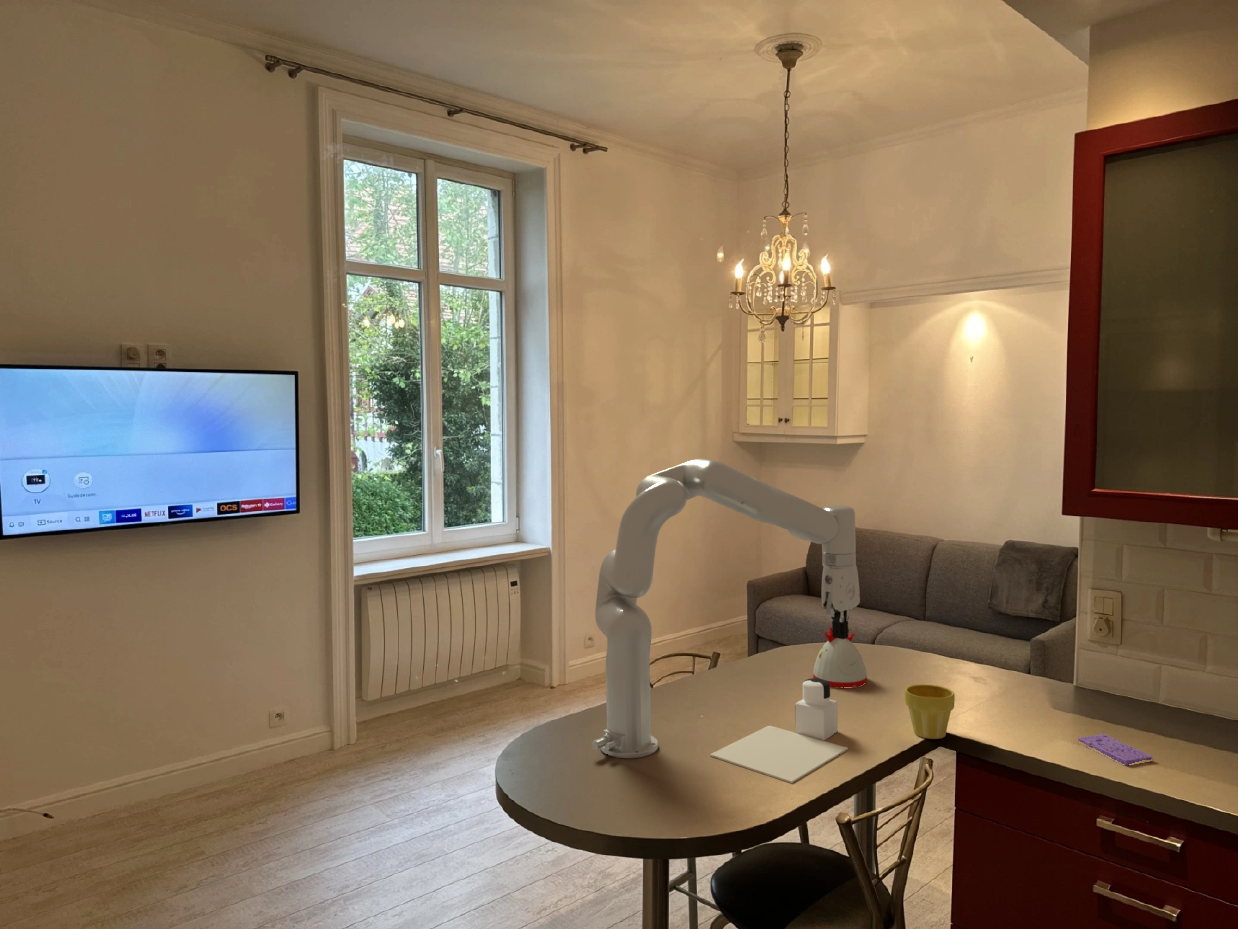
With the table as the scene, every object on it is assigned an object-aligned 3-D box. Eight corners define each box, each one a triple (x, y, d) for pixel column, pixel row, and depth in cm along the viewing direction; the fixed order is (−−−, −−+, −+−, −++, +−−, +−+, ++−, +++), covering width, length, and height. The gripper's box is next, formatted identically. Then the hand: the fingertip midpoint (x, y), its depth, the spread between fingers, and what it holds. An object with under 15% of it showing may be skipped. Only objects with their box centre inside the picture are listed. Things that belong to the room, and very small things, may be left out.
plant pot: (910, 722, 196) (910, 680, 195) (957, 730, 191) (958, 687, 190) (900, 737, 187) (900, 694, 186) (949, 746, 182) (949, 701, 181)
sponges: (1104, 742, 184) (1104, 733, 184) (1153, 764, 172) (1153, 755, 171) (1077, 745, 182) (1077, 737, 182) (1125, 769, 170) (1125, 759, 170)
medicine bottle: (809, 725, 195) (809, 673, 195) (838, 731, 191) (838, 679, 190) (794, 734, 190) (794, 681, 189) (824, 741, 185) (823, 688, 185)
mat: (791, 783, 165) (791, 781, 165) (710, 756, 179) (710, 754, 179) (848, 749, 181) (848, 748, 181) (769, 727, 195) (769, 725, 194)
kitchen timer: (805, 674, 233) (804, 620, 232) (851, 670, 236) (851, 617, 235) (826, 690, 219) (826, 633, 218) (875, 686, 222) (875, 630, 221)
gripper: (837, 566, 187) (838, 647, 189) (869, 556, 198) (870, 633, 199) (807, 562, 193) (809, 642, 194) (840, 553, 203) (842, 628, 205)
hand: (840, 637), depth 197 cm, fingers closed
